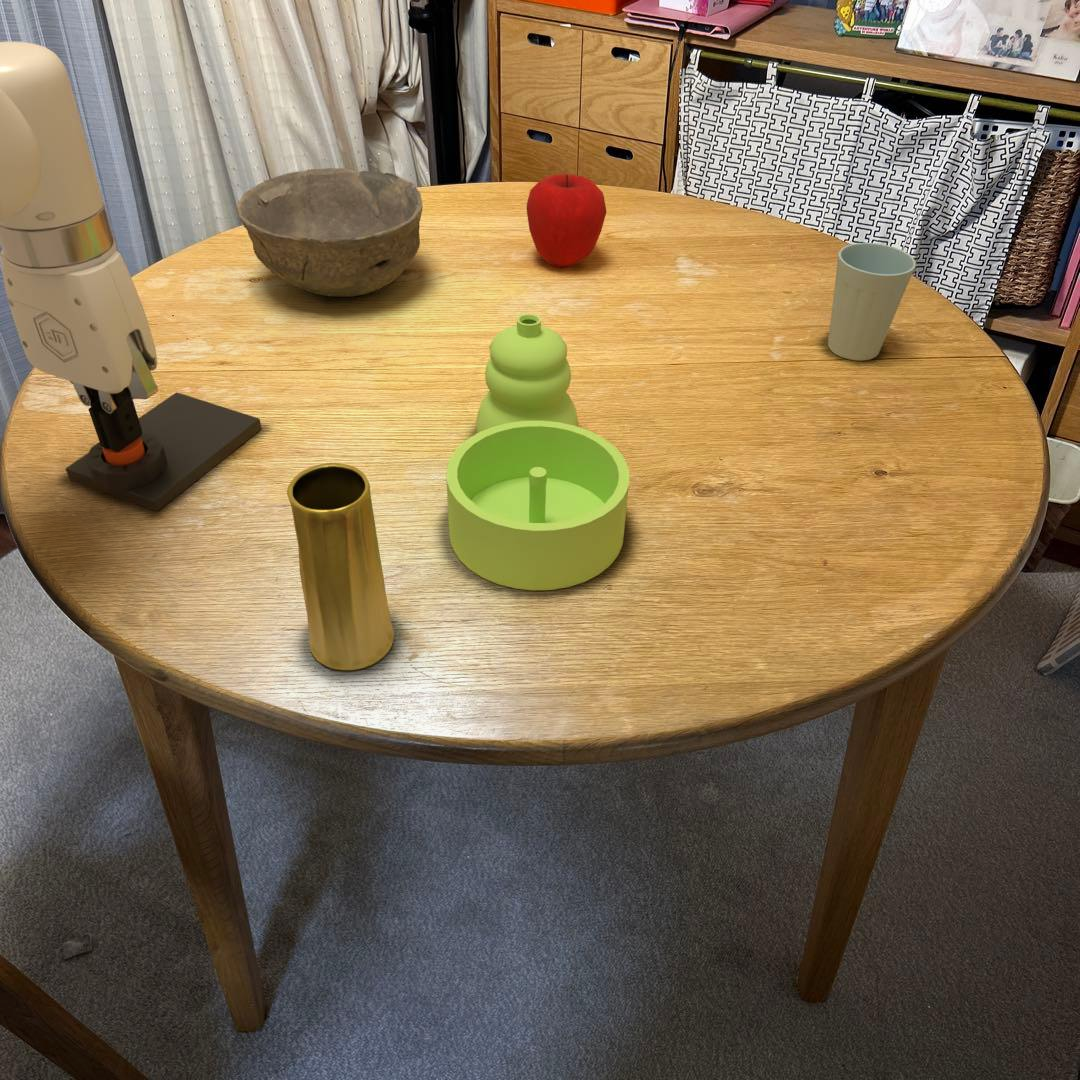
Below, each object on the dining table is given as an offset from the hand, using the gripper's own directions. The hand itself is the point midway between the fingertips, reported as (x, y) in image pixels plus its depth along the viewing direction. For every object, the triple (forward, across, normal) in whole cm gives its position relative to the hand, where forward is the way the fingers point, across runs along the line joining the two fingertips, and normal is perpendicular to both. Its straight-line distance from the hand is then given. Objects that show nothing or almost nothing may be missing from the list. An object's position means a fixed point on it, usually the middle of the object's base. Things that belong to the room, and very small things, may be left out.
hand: (122, 441), depth 82 cm
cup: (+4, +52, +53) cm, 75 cm away
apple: (+4, +15, +58) cm, 60 cm away
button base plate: (+4, 0, +4) cm, 6 cm away
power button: (+2, 0, 0) cm, 2 cm away
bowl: (+4, -6, +40) cm, 41 cm away
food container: (+4, +32, +14) cm, 35 cm away
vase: (+4, +28, -8) cm, 29 cm away
